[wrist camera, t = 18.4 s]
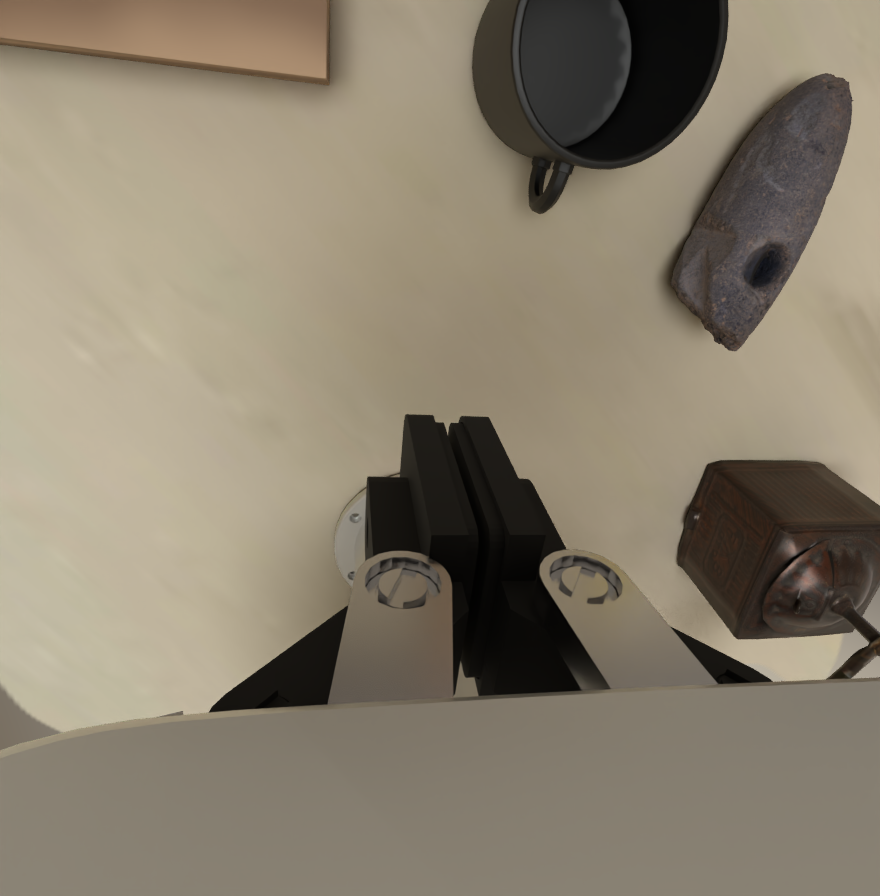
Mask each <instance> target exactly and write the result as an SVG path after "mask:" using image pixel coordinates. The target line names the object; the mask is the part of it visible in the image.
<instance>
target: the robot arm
mask: <svg viewBox="0 0 880 896" xmlns="http://www.w3.org/2000/svg"><path fill="white" fill-rule="evenodd" d="M334 555H335V560H336V564H337V567H338V569H339V571H340V573H341V575H342V577H343V578H344V579H345V580H346V582H347V583H348V584H349V585H350V586H351V587H352V591H351V596H350V600H349V605H348V606H346V607H345V608H344V609H342V610H341V611H339V612H338V613H337V614H335V615H334V616H332V617H331V618H330V619H328V620H327V621H326V622H324V623H323V624H321V625H320V626H319V627H317V628H316V629H315V630H313V631H312V632H310V633H309V634H308V635H306V636H305V637H304V638H302V639H301V640H299V641H298V642H297V643H295V644H294V645H293V646H291V647H290V648H288V649H287V650H286V651H284V652H283V653H281V654H280V655H279V656H277V657H276V658H275V659H273V660H272V661H270V662H269V663H268V664H266V665H265V666H264V667H262V668H261V669H259V670H258V671H257V672H255V673H254V674H253V675H251V676H250V677H248V678H247V679H246V680H244V681H243V682H242V683H240V684H239V685H237V686H236V687H235V688H233V689H232V690H230V691H229V692H228V693H226V694H225V695H224V696H223V697H222V698H221V699H220V700H219V701H218V702H217V703H216V704H215V705H213V706H212V708H211V710H210V711H209V713H200V714H189V715H183V711H181V712H177V713H172V714H168V715H164V716H160V717H156V718H145V719H134V720H128V721H122V722H116V723H110V724H104V725H98V726H92V727H86V728H80V729H76V730H72V731H68V732H64V733H60V734H56V735H52V736H48V737H44V738H40V739H37V740H32V741H28V742H25V743H21V744H17V745H15V746H12V747H9V748H6V749H4V750H0V896H880V677H879V678H859V679H829V680H804V681H781V682H773V681H771V680H770V679H769V678H767V677H766V676H764V675H763V674H761V673H759V672H758V671H756V670H754V669H753V668H751V667H749V666H747V665H745V664H743V663H741V662H739V661H737V660H735V659H733V658H731V657H729V656H727V655H725V654H723V653H721V652H719V651H717V650H715V649H713V648H711V647H709V646H708V645H706V644H704V643H702V642H700V641H698V640H696V639H694V638H692V637H690V636H688V635H686V634H684V633H682V632H680V631H678V630H676V629H674V628H672V627H670V626H669V625H668V624H667V622H666V621H665V620H664V619H663V618H662V616H661V615H660V614H659V613H658V612H657V610H656V609H655V608H654V607H653V606H652V604H651V603H650V602H649V601H648V600H647V598H646V597H645V596H644V595H643V594H642V592H641V591H640V590H639V589H638V588H637V586H636V585H635V584H634V583H633V582H632V580H631V579H630V578H629V577H628V576H627V574H626V573H625V572H624V571H623V570H621V569H620V568H619V567H618V566H617V565H616V564H614V563H613V562H611V561H609V560H608V559H606V558H604V557H602V556H599V555H597V554H594V553H591V552H587V551H581V550H567V549H566V547H565V545H564V544H563V542H562V540H561V538H560V536H559V534H558V532H557V530H556V528H555V526H554V524H553V522H552V520H551V518H550V516H549V515H548V513H547V511H546V509H545V507H544V505H543V503H542V501H541V499H540V497H539V495H538V493H537V491H536V489H535V487H534V486H533V484H532V482H531V481H530V480H529V479H519V478H518V476H517V474H516V472H515V470H514V468H513V466H512V464H511V462H510V460H509V458H508V456H507V454H506V452H505V449H504V447H503V445H502V443H501V441H500V439H499V437H498V435H497V433H496V431H495V429H494V427H493V425H492V423H491V421H490V419H489V417H471V416H461V417H460V420H459V423H451V424H450V426H449V432H448V435H447V432H446V429H445V426H444V423H438V422H435V419H434V416H433V415H409V414H406V415H405V420H404V429H403V442H402V455H401V467H400V474H398V475H394V476H391V477H368V478H367V488H366V489H364V490H363V491H362V492H360V493H359V494H358V495H357V496H356V497H355V498H354V499H353V500H352V501H351V502H350V503H349V504H348V505H347V507H346V508H345V510H344V511H343V513H342V514H341V516H340V518H339V521H338V524H337V526H336V530H335V537H334Z"/></svg>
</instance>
